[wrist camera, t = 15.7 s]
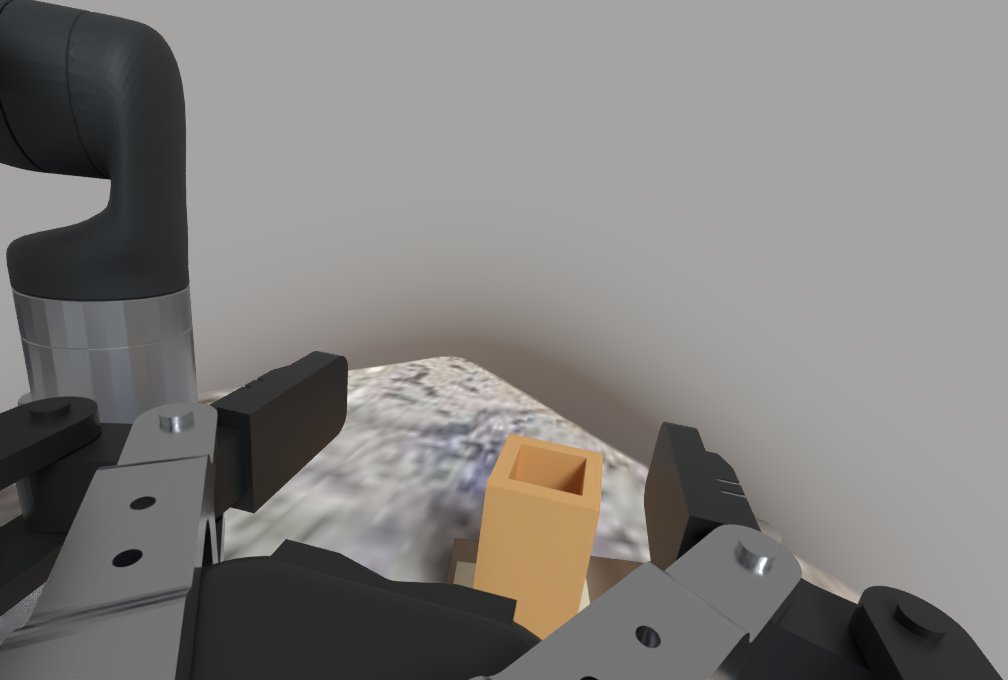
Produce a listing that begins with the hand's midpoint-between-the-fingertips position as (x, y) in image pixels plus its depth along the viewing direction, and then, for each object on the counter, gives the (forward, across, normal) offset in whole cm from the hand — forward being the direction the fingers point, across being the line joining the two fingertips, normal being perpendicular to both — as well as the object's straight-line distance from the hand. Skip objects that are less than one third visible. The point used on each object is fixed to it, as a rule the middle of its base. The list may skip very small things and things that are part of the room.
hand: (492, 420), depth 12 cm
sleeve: (+12, -2, +20) cm, 23 cm away
